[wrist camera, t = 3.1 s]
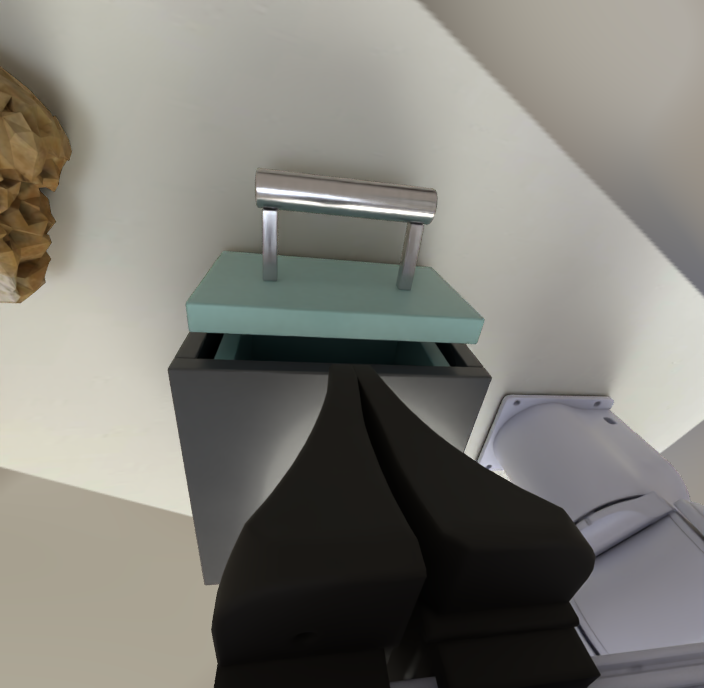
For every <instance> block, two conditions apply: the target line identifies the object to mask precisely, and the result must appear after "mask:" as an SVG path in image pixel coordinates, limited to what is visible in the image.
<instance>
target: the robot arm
mask: <svg viewBox="0 0 704 688" xmlns="http://www.w3.org/2000/svg"><path fill="white" fill-rule="evenodd" d="M515 401H516V402H515ZM613 403H614V400H613V399H612V398H610V397H608V396H553V395H507V396H506V397H504V399H503V400H502V403H501V405H500V408H499V410H498V412H497V415H496V417H495V420H494V422H493V425H492V427H491V429H490V432H489V434H488V437H487V439H486V441H485V444H484V446H483V449H482V451H481V454H480V456H479V458H478V461H477V462H476V461H474V460H473V459H472V458H470V457H469V456H467V455H466V454H464V453H463V452H461V451H460V450H458V449H457V448H455V447H454V446H453V445H451V444H450V443H449V442H447V441H446V440H445V439H444V438H442V437H441V436H440V435H438V434H437V433H436V432H435V431H433V430H432V429H431V428H430V427H429V426H428V425H426V424H425V423H424V422H423V421H422V420H421V419H420V418H419V417H418V416H417V415H415V414H414V413H413V412H412V411H411V410H410V409H409V408H408V407H407V406H406V405H405V404H404V403H403V402H402V401H401V400H400V399H399V397H398V396H397V395H396V394H395V393H394V392H393V391H392V390H391V389H390V388H389V386H388V385H387V384H386V383H385V382H384V381H383V379H382V378H381V377H380V376H379V375H378V374H377V372H376V371H375V370H374V369H373V368H372V367H371V366H370V365H349V364H332V365H331V366H330V367H329V374H328V385H327V393H326V396H325V400H324V403H323V406H322V408H321V411H320V413H319V416H318V418H317V420H316V423H315V425H314V427H313V429H312V431H311V433H310V435H309V437H308V439H307V441H306V443H305V444H304V446H303V448H302V449H301V451H300V453H299V454H298V456H297V458H296V459H295V461H294V462H293V464H292V465H291V467H290V468H289V470H288V471H287V473H286V474H285V475H284V477H283V478H282V479H281V481H280V482H279V483H278V485H277V486H276V487H275V489H274V490H273V492H272V493H271V494H270V495H269V496H268V498H267V499H266V500H265V501H264V502H263V503H262V505H261V506H260V507H259V508H258V509H257V510H256V511H255V513H254V514H253V515H252V516H251V517H250V518H249V520H248V521H247V522H246V523H245V524H244V527H243V529H242V531H241V533H240V535H239V537H238V539H237V541H236V543H235V545H234V548H233V550H232V552H231V554H230V557H229V559H228V561H227V564H226V566H225V569H224V572H223V575H222V578H221V581H220V585H219V588H218V592H217V597H216V602H215V609H214V614H213V620H212V629H211V630H212V636H213V642H214V647H215V652H216V658H217V663H218V665H217V671H216V677H215V684H214V688H704V505H703V504H701V503H697V502H692V501H690V496H689V493H688V490H687V487H686V485H685V483H684V481H683V479H682V477H681V476H680V474H679V473H678V472H677V470H676V469H675V468H674V466H673V465H672V464H671V463H670V462H669V461H668V460H666V459H665V458H664V457H663V456H662V455H661V454H660V453H658V452H657V451H656V450H655V449H654V448H653V447H652V446H650V445H649V444H648V443H647V442H646V441H645V440H644V439H642V438H641V437H640V436H639V435H638V434H637V433H635V432H634V431H633V430H632V429H631V428H630V427H629V426H627V425H626V424H625V423H624V422H623V421H622V420H621V419H619V418H618V417H617V416H616V415H615V414H614V413H613V412H611V411H610V408H611V407H612V405H613ZM490 470H504V471H505V473H506V474H507V476H508V478H509V479H510V481H511V482H512V483H511V482H510V481H508V480H506V479H504V478H502V477H501V476H499V475H497V474H495V473H494V472H492V471H490Z"/></svg>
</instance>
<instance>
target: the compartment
mask: <svg viewBox="0 0 704 688" xmlns="http://www.w3.org/2000/svg"><path fill="white" fill-rule="evenodd" d="M223 335H224V333H205V332H189V334H188V335H187V337H186V339H185V340H184V342H183V344H182V346H181V347H180V349H179V351H178V352H177V354H176V356H175V358H174V359H173V361H172V363H171V364H170V366H169V368H168V374H169V380H170V386H171V392H172V398H173V404H174V409H175V415H176V421H177V427H178V433H179V439H180V444H181V450H182V456H183V462H184V468H185V474H186V479H187V485H188V491H189V497H190V503H191V509H192V514H193V520H194V526H195V532H196V537H197V543H198V549H199V555H200V561H201V566H202V573H203V579H204V584H205V585H216V584H220V581H221V578H222V575H223V572H224V569H225V566H226V564H227V561H228V559H229V557H230V554H231V552H232V550H233V548H234V545H235V543H236V541H237V539H238V537H239V535H240V533H241V531H242V529H243V527H244V524H245V523H246V522H247V521H248V520H249V518H250V517H251V516H252V515H253V514H254V513H255V511H256V510H257V509H258V508H259V507H260V506H261V505H262V503H263V502H264V501H265V500H266V499H267V498H268V496H269V495H270V494H271V493H272V492H273V490H274V489H275V487H276V486H277V485H278V483H279V482H280V481H281V479H282V478H283V477H284V475H285V474H286V473H287V471H288V470H289V468H290V467H291V465H292V464H293V462H294V461H295V459H296V458H297V456H298V454H299V453H300V451H301V449H302V448H303V446H304V444H305V443H306V441H307V439H308V437H309V435H310V433H311V431H312V429H313V427H314V425H315V423H316V420H317V418H318V416H319V413H320V411H321V408H322V406H323V403H324V400H325V396H326V393H327V385H328V374H329V367H330V366H331V365H332V364H349V365H370V366H371V367H372V368H373V369H374V370H375V371H376V372H377V374H378V375H379V376H380V377H381V378H382V379H383V381H384V382H385V383H386V384H387V385H388V386H389V388H390V389H391V390H392V391H393V392H394V393H395V394H396V395H397V396H398V397H399V399H400V400H401V401H402V402H403V403H404V404H405V405H406V406H407V407H408V408H409V409H410V410H411V411H412V412H413V413H414V414H415V415H417V416H418V417H419V418H420V419H421V420H422V421H423V422H424V423H425V424H426V425H428V426H429V427H430V428H431V429H432V430H433V431H435V432H436V433H437V434H438V435H440V436H441V437H442V438H444V439H445V440H446V441H447V442H449V443H450V444H451V445H453V446H454V447H455V448H457V449H458V450H460V451H461V452H463V453H464V450H465V448H466V445H467V442H468V440H469V437H470V434H471V432H472V429H473V427H474V424H475V421H476V419H477V416H478V413H479V411H480V408H481V406H482V403H483V400H484V398H485V395H486V392H487V390H488V387H489V384H490V382H491V379H492V377H491V375H490V374H489V373H488V372H487V370H486V369H485V368H483V365H482V364H481V363H480V362H479V360H478V359H477V358H476V357H475V355H474V354H473V353H472V352H471V350H470V349H469V348H468V347H467V345H466V344H464V343H440V342H435V344H436V345H437V347H438V348H439V350H440V351H441V353H442V354H443V356H444V357H445V359H446V361H447V362H448V364H449V365H450V366H419V365H387V364H354V363H321V362H289V361H256V360H224V359H214V358H215V355H216V353H217V350H218V348H219V345H220V343H221V340H222V338H223Z"/></svg>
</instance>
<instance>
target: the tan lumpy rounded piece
mask: <svg viewBox="0 0 704 688" xmlns="http://www.w3.org/2000/svg"><path fill="white" fill-rule="evenodd" d="M71 153H72V150H71V146H70V143H69V139H68V137H67V136H66V134H65V132H64V130H63V129H62V127H61V125H60V123H59V121H58V120H57V118H56V116H54V117H53V116H52V114H51V112H50V111H49V110H48V109H47V108H46V107H45V106H44V105H43V104H42V103H41V102H40V100H39V99H38V98H37V97H36V96H35V95H34V94H33V93H32V92H31V91H30V90H29V89H28V88H27V87H26V86H24V85H23V84H22V83H21V82H19V81H18V80H17V79H16V78H14V77H13V76H12V75H11V74H9V73H8V72H7V71H6V70H4V69H3V68H2V67H1V66H0V303H21V302H23V301H24V300H25V299H27V298H28V297H29V296H30V295H32V294H33V293H34V292H35V291H37V290H38V289H39V288H40V287H41V286H42V285H43V284H45V274H46V271H47V267H48V264H49V262H50V260H51V258H50V257H49V255H48V253H47V252H46V250H47V249H48V247H49V246H50V244H51V243H52V242H51V239H50V236H49V235H48V234H47V232H48V231H49V230H50V229H51V227H52V226H53V225H54V224H55V222H56V221H55V219H54V218H53V216H52V214H51V211H50V205H49V199H48V198H47V197H46V196H45V195H44V194H43V193H42V192H41V191H40V190H39V188H41V187H47V188H49V189H50V190H52V191H54V192H55V190H56V188H57V186H58V185H59V178H60V174H61V170H62V167H63V166H64V164H65V163H66V161H67V160H68V161H69V160H70V156H71Z"/></svg>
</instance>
